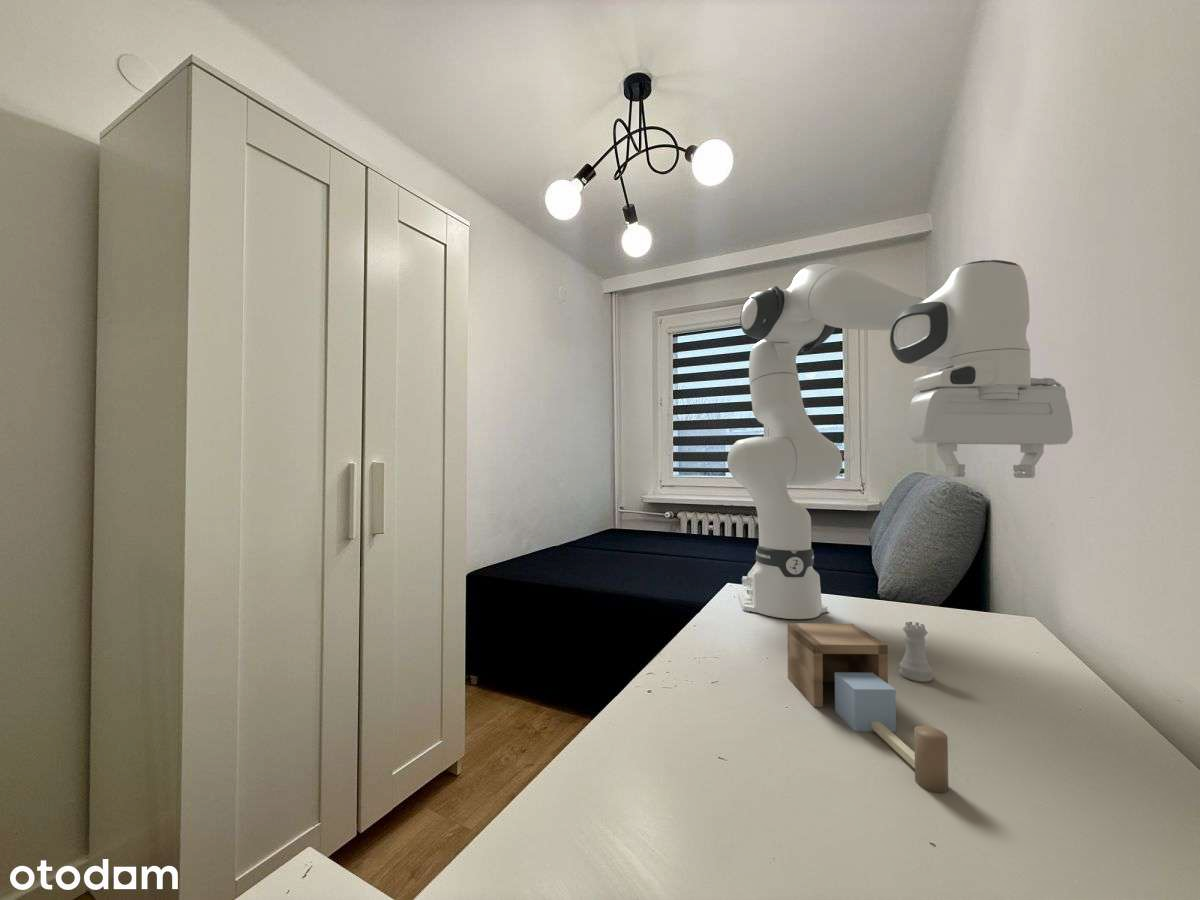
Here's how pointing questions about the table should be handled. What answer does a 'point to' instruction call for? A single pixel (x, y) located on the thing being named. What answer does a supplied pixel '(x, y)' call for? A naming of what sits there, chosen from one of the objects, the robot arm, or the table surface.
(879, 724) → the block with stick handle
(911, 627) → the rook chess piece
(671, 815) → the table surface
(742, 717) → the table surface
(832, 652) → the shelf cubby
